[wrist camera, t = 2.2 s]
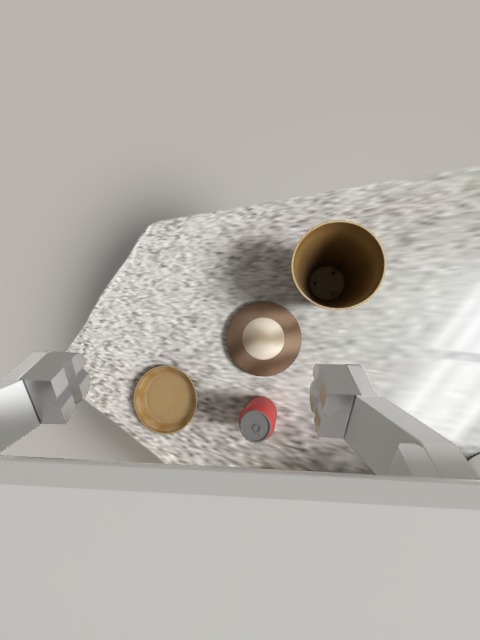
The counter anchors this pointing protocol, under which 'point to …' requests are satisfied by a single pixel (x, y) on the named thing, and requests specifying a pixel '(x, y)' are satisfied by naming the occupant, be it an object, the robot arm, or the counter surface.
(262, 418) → the beer can
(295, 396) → the counter surface
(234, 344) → the disc
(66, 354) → the robot arm
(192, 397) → the plant saucer
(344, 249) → the plant pot
